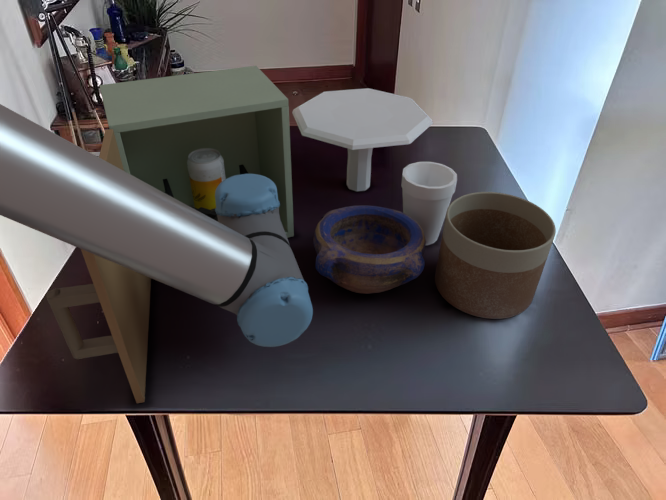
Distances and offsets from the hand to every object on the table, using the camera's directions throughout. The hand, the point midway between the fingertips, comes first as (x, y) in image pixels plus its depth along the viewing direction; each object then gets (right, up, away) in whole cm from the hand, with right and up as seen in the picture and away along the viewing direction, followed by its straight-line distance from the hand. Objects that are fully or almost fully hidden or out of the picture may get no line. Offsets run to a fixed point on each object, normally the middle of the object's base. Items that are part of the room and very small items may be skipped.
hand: (204, 178), depth 93 cm
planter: (+48, -19, -7) cm, 52 cm away
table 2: (+29, +1, +19) cm, 34 cm away
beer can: (+1, -9, +3) cm, 10 cm away
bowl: (+29, -17, -5) cm, 34 cm away
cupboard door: (-8, -25, -16) cm, 31 cm away
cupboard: (0, -9, +5) cm, 10 cm away
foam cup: (+40, -10, +4) cm, 41 cm away
